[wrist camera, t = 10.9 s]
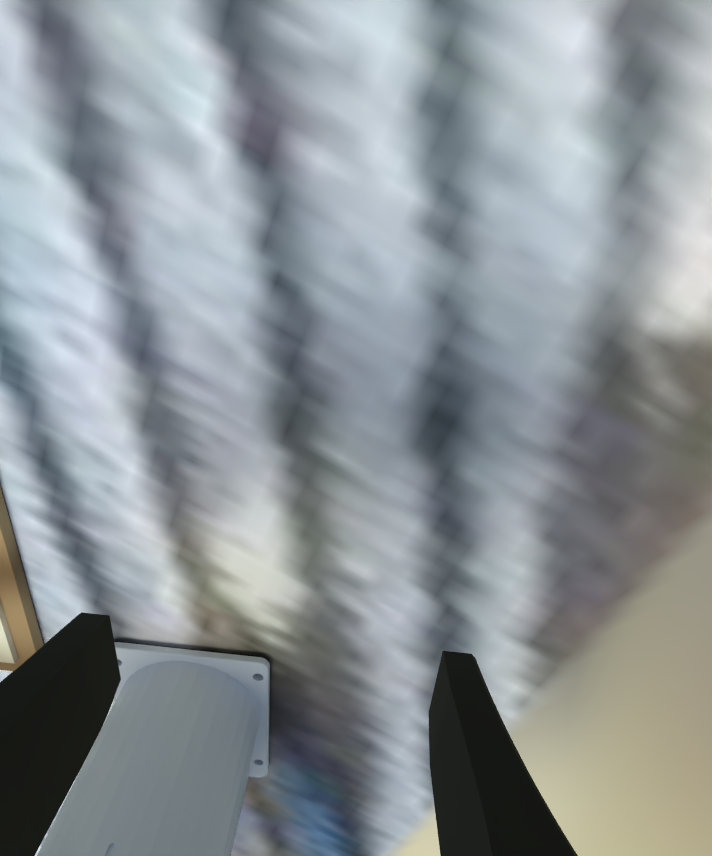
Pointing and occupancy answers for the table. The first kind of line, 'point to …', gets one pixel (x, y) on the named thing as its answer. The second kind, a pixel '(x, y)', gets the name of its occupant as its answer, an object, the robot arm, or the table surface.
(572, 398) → the table surface
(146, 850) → the robot arm
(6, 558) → the clipboard
